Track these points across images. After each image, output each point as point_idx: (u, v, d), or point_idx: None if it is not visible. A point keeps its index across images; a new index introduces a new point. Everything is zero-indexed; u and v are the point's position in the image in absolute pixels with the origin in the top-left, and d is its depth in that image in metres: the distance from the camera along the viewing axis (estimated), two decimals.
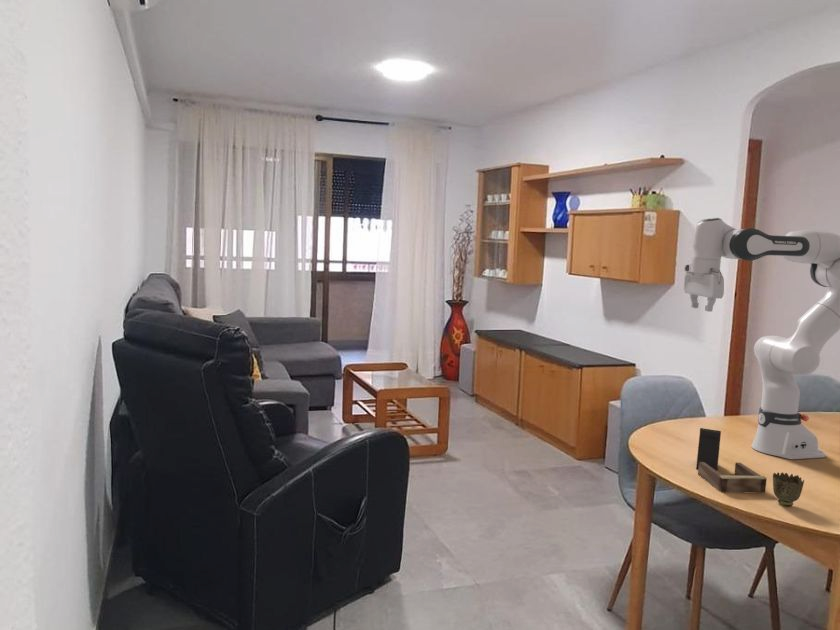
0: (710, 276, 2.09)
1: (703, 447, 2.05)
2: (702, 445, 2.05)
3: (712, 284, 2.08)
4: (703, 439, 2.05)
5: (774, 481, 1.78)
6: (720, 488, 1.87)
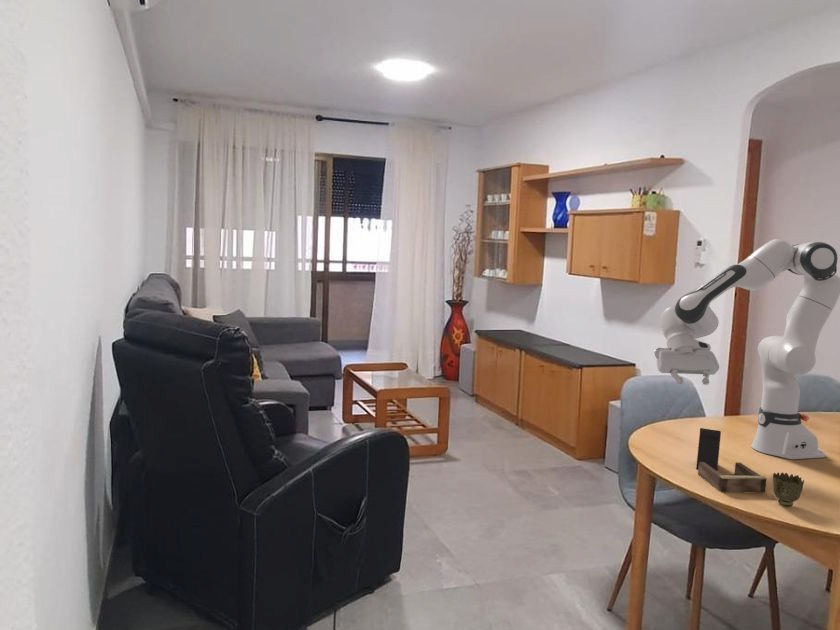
0: None
1: (703, 447, 2.05)
2: (702, 445, 2.05)
3: None
4: (703, 439, 2.05)
5: (774, 481, 1.78)
6: (720, 488, 1.87)
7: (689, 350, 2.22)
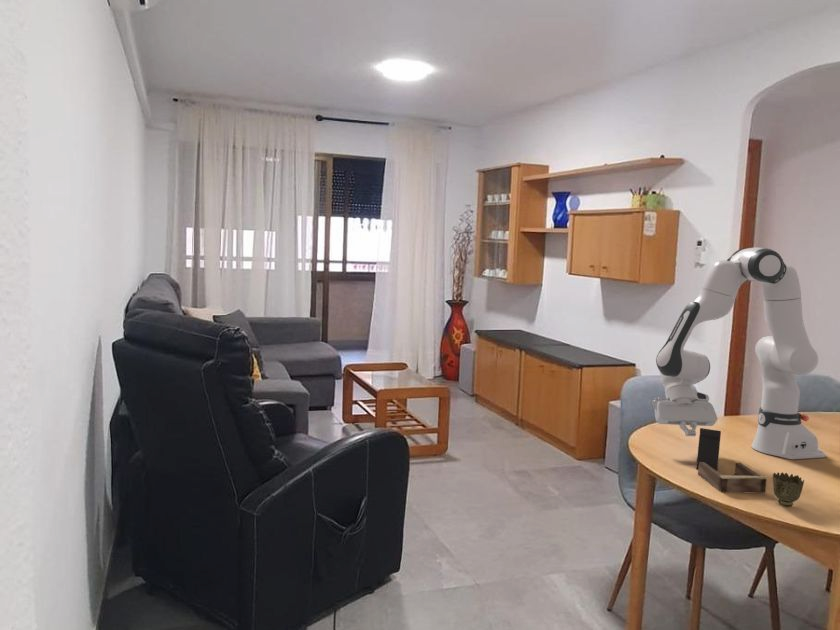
0: None
1: (703, 447, 2.05)
2: (702, 445, 2.05)
3: None
4: (703, 439, 2.05)
5: (774, 481, 1.78)
6: (720, 488, 1.87)
7: (687, 401, 2.21)
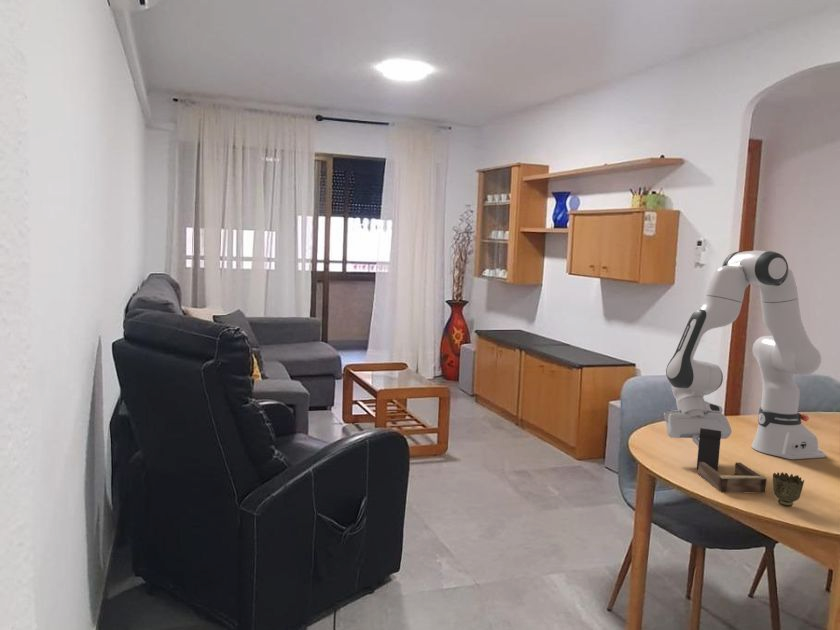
0: None
1: (704, 447, 2.05)
2: (702, 445, 2.05)
3: None
4: (703, 439, 2.05)
5: (774, 481, 1.78)
6: (720, 488, 1.87)
7: (700, 413, 2.13)
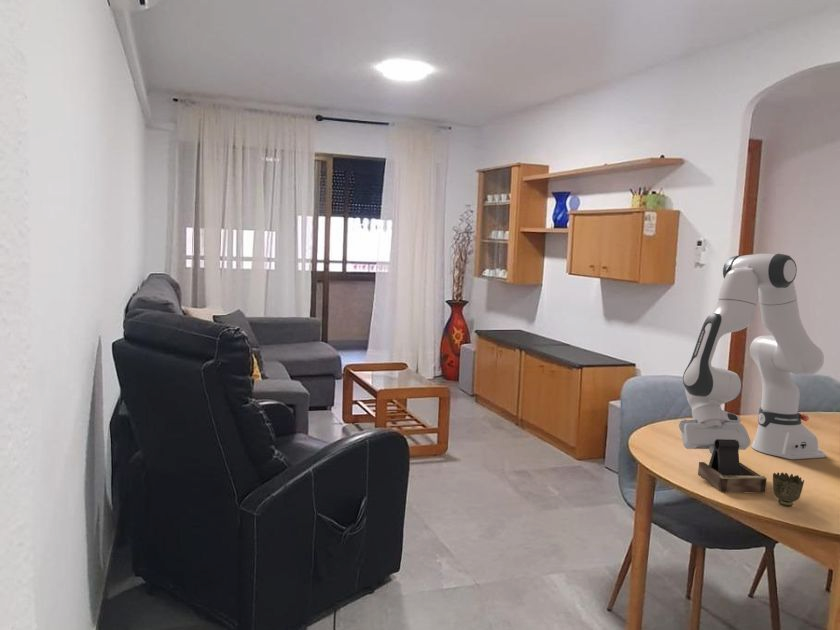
0: None
1: (725, 459, 1.94)
2: (723, 457, 1.94)
3: None
4: (723, 451, 1.95)
5: (774, 481, 1.78)
6: (720, 488, 1.87)
7: (717, 423, 2.02)
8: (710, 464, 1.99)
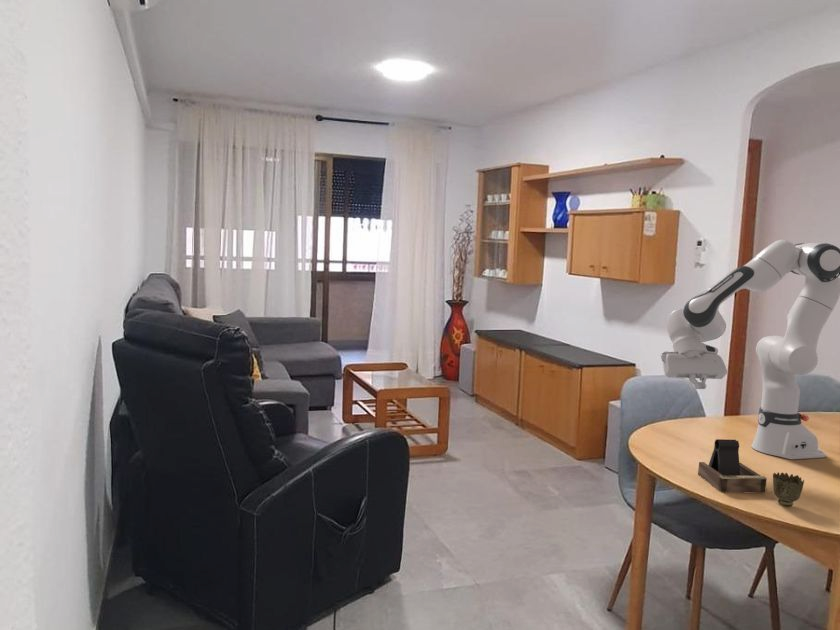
0: None
1: (725, 459, 1.94)
2: (723, 457, 1.94)
3: None
4: (723, 451, 1.95)
5: (774, 481, 1.78)
6: (720, 488, 1.87)
7: (696, 354, 2.17)
8: (710, 464, 1.99)
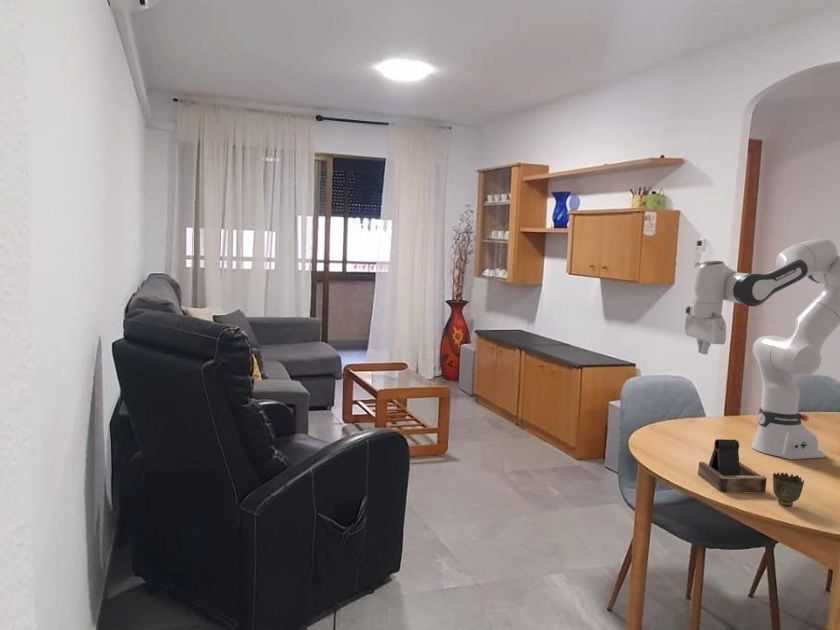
0: (712, 321, 2.05)
1: (725, 459, 1.94)
2: (723, 457, 1.94)
3: (714, 330, 2.04)
4: (723, 451, 1.95)
5: (774, 481, 1.78)
6: (720, 488, 1.87)
7: None
8: (710, 464, 1.99)
